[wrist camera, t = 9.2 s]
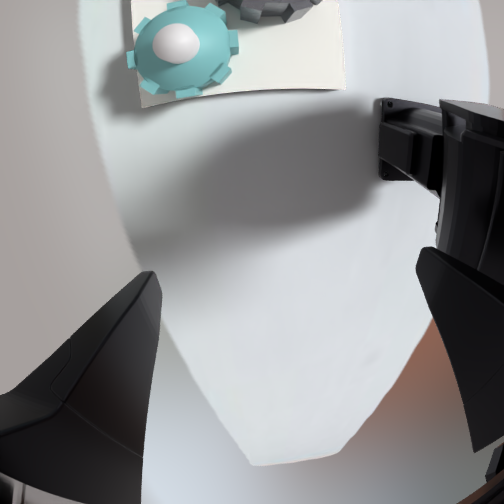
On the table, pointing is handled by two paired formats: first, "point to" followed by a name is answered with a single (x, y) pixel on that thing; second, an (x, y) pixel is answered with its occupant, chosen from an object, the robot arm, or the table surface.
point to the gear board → (231, 50)
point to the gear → (271, 8)
